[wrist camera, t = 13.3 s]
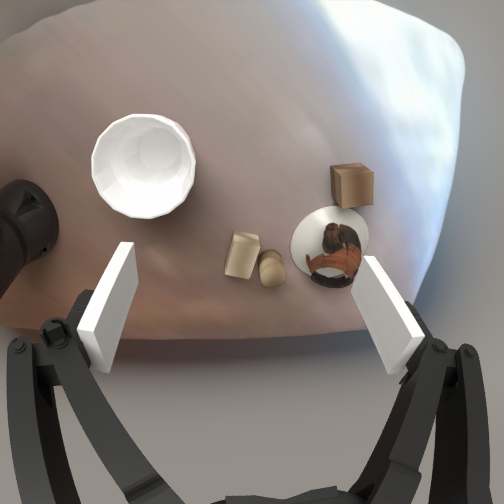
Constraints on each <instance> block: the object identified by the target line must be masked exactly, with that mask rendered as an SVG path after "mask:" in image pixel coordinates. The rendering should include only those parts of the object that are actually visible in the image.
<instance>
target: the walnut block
mask: <svg viewBox="0 0 504 504" xmlns="http://www.w3.org/2000/svg"><path fill="white" fill-rule="evenodd" d="M330 171H331V190H332V197H333V198H334V199H335V201H336V202H337V203H338V204H339V206H340V207H341V208H342V209H345V208H351V207H358V206H366V205H373V184H374V172H372V171H371V170H370V169H368V168H367V167H366V166H364V165H363V164H361V163H352V164H343V165H334V166H330Z"/></svg>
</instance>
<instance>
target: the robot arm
mask: <svg viewBox="0 0 504 504" xmlns="http://www.w3.org/2000/svg"><path fill="white" fill-rule="evenodd" d="M57 235H58V219H57V215H56V211H55V209H54V206H53V204H52V202H51V200H50V199H49V197H48V196H47V195H46V193H45V192H44V191H43V190H42V189H41V188H40V187H39V186H37V185H36V184H34V183H32V182H30V181H27V180H15V181H12V182H10V183H9V184H7V185H6V186H5V187H3V188H2V189H1V190H0V299H1V297H2V296H3V294H4V293H5V291H6V290H7V289H8V287H9V286H10V284H11V283H12V282H13V280H14V279H15V278H16V276H17V275H18V273H19V272H20V271H21V269H22V268H23V267H24V266H25V265H27V264H29V263H31V262H33V261H35V260H37V259H39V258H41V257H42V256H44V255H45V254H46V253H47V252H48V251H49V250H50V249H51V247H52V246H53V245H54V243H55V241H56V239H57ZM138 283H139V282H138V275H137V267H136V259H135V250H134V243H132V242H121V243H120V244H119V246H118V248H117V250H116V251H115V253H114V255H113V257H112V259H111V261H110V262H109V264H108V266H107V268H106V270H105V272H104V274H103V276H102V278H101V280H100V281H99V283H98V285H97V287H96V289H95V290H86V289H85V290H84V291H83V292H82V293H81V294H80V295H79V296H78V297H77V299H76V301H75V303H74V305H73V307H72V309H71V311H70V313H69V315H68V317H67V319H66V320H65V319H62V318H57V317H55V318H51V319H49V320H47V321H46V322H45V323H44V324H43V325H42V326H41V329H40V334H41V337H42V339H43V341H44V343H35V344H32V342H31V340H30V339H29V338H28V337H25V336H20V337H17V338H15V339H13V340H12V341H11V342H10V344H9V346H8V350H7V411H8V425H9V435H10V443H11V451H12V458H13V464H14V469H15V475H16V480H17V484H18V489H19V493H20V497H21V501H22V504H81V502H80V499H79V496H78V493H77V490H76V487H75V484H74V480H73V477H72V474H71V470H70V467H69V463H68V460H67V456H66V452H65V447H64V443H63V439H62V434H61V429H60V424H59V420H58V414H57V408H56V402H55V394H54V387H53V386H57V385H58V386H59V385H62V387H63V389H64V391H65V393H66V395H67V398H68V400H69V402H70V404H71V406H72V408H73V410H74V412H75V414H76V416H77V418H78V420H79V422H80V424H81V426H82V428H83V430H84V432H85V433H86V435H87V437H88V439H89V441H90V442H91V444H92V446H93V447H94V449H95V451H96V453H97V454H98V456H99V457H100V459H101V461H102V462H103V464H104V465H105V467H106V469H107V470H108V472H109V473H110V475H111V476H112V478H113V479H114V480H115V482H116V483H117V485H118V486H119V488H120V489H121V490H122V492H123V493H124V495H125V498H126V500H127V501H128V503H129V504H185V503H184V502H183V501H182V500H181V499H180V498H179V496H178V495H177V494H176V493H175V492H174V491H173V490H172V489H171V487H170V486H169V485H168V484H167V483H166V482H165V481H164V479H163V478H162V477H161V476H160V475H159V474H158V473H157V472H156V470H155V469H154V468H153V467H152V465H151V464H150V463H149V461H148V460H147V459H146V458H145V456H144V455H143V454H142V452H141V451H140V450H139V448H138V447H137V445H136V444H135V443H134V441H133V440H132V438H131V437H130V436H129V434H128V433H127V431H126V430H125V428H124V427H123V425H122V424H121V422H120V421H119V419H118V418H117V416H116V415H115V413H114V411H113V410H112V408H111V406H110V405H109V403H108V402H107V400H106V398H105V397H104V395H103V393H102V392H101V390H100V388H99V386H98V385H97V383H96V381H95V379H94V377H93V375H92V374H91V372H90V370H89V368H90V365H92V367H93V369H94V371H98V372H104V373H110V369H111V366H112V362H113V359H114V356H115V352H116V349H117V346H118V342H119V339H120V336H121V333H122V330H123V327H124V323H125V320H126V317H127V314H128V311H129V308H130V306H131V303H132V300H133V297H134V294H135V291H136V288H137V286H138ZM351 294H352V296H353V298H354V300H355V302H356V304H357V306H358V308H359V311H360V313H361V315H362V317H363V319H364V321H365V323H366V326H367V328H368V330H369V332H370V334H371V336H372V338H373V341H374V343H375V345H376V348H377V350H378V352H379V354H380V356H381V359H382V361H383V363H384V366H385V368H386V370H387V373H388V374H396V373H400V372H401V371H402V370H403V368H404V366H405V365H406V367H407V369H408V372H407V373H406V374H405V376H404V377H403V378H402V380H401V381H400V382H399V384H401V383H402V385H401V388H400V391H399V393H398V396H397V398H396V401H395V404H394V406H393V408H392V411H391V413H390V415H389V418H388V421H387V422H386V425H385V427H384V429H383V431H382V434H381V436H380V438H379V440H378V442H377V444H376V446H375V448H374V451H373V452H372V454H371V456H370V458H369V461H368V462H367V464H366V466H365V468H364V470H363V472H362V474H361V475H360V477H359V479H358V480H357V482H356V483H355V484H354V485H353V486H352V487H351V488H350V490H349V491H348V492H345V491H339V490H337V486H332V487H327V488H321V489H315V490H310V491H307V492H305V493H302V494H300V495H297V496H294V497H291V498H288V499H283V500H282V499H274V498H267V497H261V496H255V495H253V496H226V498H225V500H221V501H217V502H214V503H212V504H411V501H412V500H413V498H414V495H415V493H416V490H417V488H418V486H419V483H420V480H421V477H422V476H421V473H420V472H418V469H419V466H420V463H421V460H422V457H423V455H424V452H425V449H426V446H427V443H428V439H429V436H430V433H431V430H432V426H433V423H434V419H435V415H436V432H435V449H434V461H433V471H432V480H431V487H430V494H429V502H428V504H493V502H492V497H491V493H490V488H489V482H490V450H489V449H490V448H489V430H488V429H489V428H488V416H487V407H486V398H485V390H484V384H483V377H482V372H481V366H480V361H479V357H478V353H477V351H476V349H475V348H474V347H473V346H471V345H469V344H462V345H461V346H460V348H459V349H458V350H454V349H449V348H448V347H447V345H446V344H445V343H444V342H443V341H441V340H440V339H437V338H433V337H432V335H431V333H430V331H429V330H428V328H427V326H426V325H425V323H424V322H423V321H422V318H421V317H420V315H419V314H418V312H417V311H416V309H415V308H414V306H412V305H411V304H410V303H409V302H408V301H403V299H402V297H401V296H400V294H399V293H398V291H397V290H396V288H395V287H394V285H393V283H392V282H391V280H390V279H389V277H388V276H387V274H386V273H385V271H384V270H383V268H382V267H381V266H380V264H379V263H378V261H377V260H376V258H375V257H374V256H363V258H362V261H361V264H360V267H359V270H358V272H357V275H356V278H355V281H354V284H353V286H352V289H351Z"/></svg>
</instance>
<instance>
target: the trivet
mask: <svg viewBox="0 0 504 504" xmlns="http://www.w3.org/2000/svg"><path fill="white" fill-rule="evenodd" d="M333 222H334V223H336V224H338V228H340V227H339V225H340V224H343V225H346V226H349V227H351V228H352V229H354V230H355V231H356V232H357V234H358V236H359V240H360V243H361V251H362V253H361V254H362V255H361V258H362V256H363V254H364V253H365V251H366V248H367V245H368V239H369V233H368V228H367V225H366V223H365V221H364V219H363V218H362V217H361V216H360V215H359V214H358V213H357V212H356V211H354V210H352V209H351V208H345V209H342V208H341V207H340V206H337V205H333V206H326V207H322V208H320V209H317V210H315V211H313V212H312V213H310V214H308V215H307V216H306V217H305V218H304V219H303V220H302V221H301V222H300V223H299V224H298V226H297V227H296V229H295V231H294V233H293V235H292V239H291V245H290V248H291V255H292V258H293V260H294V262H295V264H296V265H297V267H298V268H299V269H300V270H301V271H303V272H304V273H306V274H308V275H311V274H312V273H310V272H309V271H310V270H309V268H308V265H307V263H306V254H308V255H309V257H310V261H311V260H312V259H313V258H314V257H316V256H318V255H320V254H322V253H323V254H324V255H325V256H327V255H329V254H327V253H325V252H324V250H323V247H322V242H323V239H324V234H323V233H324V230H325V228H326V226H327V225H328V224H329V223H333ZM342 244H343V247H345V248H346V244H345V242H344V243H342ZM316 272H317V273H319V274H321V275H324V276H327V277H333V276H337V275H340V274H342V273H344V271H342V270H339V269H336V268H330V267H325V268H320V269H317V270H316Z"/></svg>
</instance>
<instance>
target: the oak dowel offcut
mask: <svg viewBox="0 0 504 504" xmlns="http://www.w3.org/2000/svg"><path fill="white" fill-rule="evenodd" d="M258 265H259V272H260V278H261V282H262V283H263V284H264V285H265V286H267V287H278V286H280V285H281V284H283V283H284V281H285V279H286V273H285V269H284V266H283V262H282V258H281V255H280V254H279V253H278V252H277V251H275V250H266V251H264V252H262V253H261V254H260V255H259V257H258Z"/></svg>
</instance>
